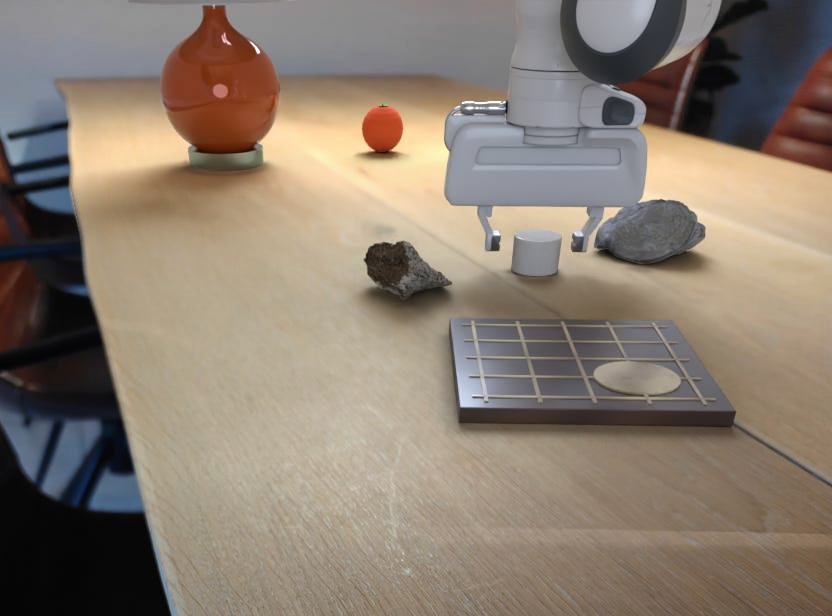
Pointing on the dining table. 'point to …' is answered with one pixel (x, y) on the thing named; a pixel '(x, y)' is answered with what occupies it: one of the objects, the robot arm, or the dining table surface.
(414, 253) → the rock sample
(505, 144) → the robot arm
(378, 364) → the dining table surface
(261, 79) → the lamp
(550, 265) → the gray cylinder
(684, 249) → the fossilized seashell
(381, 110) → the clementine
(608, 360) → the game board
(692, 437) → the dining table surface
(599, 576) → the dining table surface
